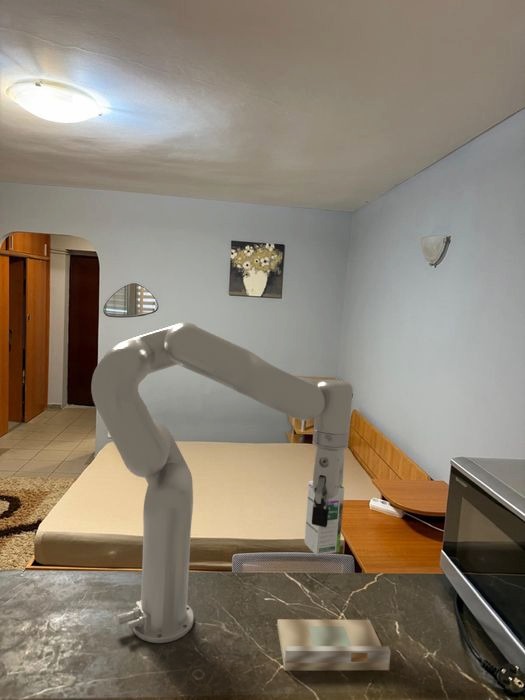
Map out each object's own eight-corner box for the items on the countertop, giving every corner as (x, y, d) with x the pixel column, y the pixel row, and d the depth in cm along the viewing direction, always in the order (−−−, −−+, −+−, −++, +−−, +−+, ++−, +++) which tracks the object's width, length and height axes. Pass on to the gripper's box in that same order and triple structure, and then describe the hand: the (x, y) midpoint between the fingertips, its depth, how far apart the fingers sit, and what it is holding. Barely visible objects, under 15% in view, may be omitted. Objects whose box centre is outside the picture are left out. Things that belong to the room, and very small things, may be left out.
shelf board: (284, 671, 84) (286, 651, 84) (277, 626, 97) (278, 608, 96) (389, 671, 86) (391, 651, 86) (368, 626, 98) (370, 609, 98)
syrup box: (316, 556, 96) (322, 490, 94) (303, 542, 101) (308, 479, 100) (339, 552, 98) (345, 487, 97) (325, 539, 103) (330, 477, 102)
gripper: (340, 451, 88) (332, 539, 89) (354, 431, 104) (348, 506, 106) (302, 445, 90) (295, 530, 92) (322, 426, 107) (316, 499, 108)
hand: (323, 516), depth 99 cm, fingers closed on syrup box, 7 cm apart
